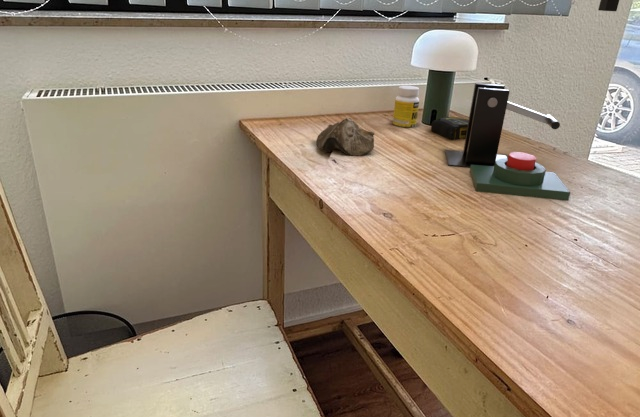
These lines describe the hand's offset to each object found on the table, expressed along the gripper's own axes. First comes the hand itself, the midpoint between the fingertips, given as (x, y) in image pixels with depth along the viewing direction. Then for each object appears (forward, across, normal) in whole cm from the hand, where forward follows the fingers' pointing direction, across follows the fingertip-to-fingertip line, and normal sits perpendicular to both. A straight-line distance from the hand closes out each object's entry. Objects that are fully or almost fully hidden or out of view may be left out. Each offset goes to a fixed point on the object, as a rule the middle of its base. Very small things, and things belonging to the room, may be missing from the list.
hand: (607, 10), depth 69 cm
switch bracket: (+24, +14, +2) cm, 28 cm away
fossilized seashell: (+24, +36, +1) cm, 43 cm away
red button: (+21, +10, +12) cm, 26 cm away
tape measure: (+24, +17, -13) cm, 33 cm away
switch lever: (+16, +10, +2) cm, 19 cm away
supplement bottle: (+24, +26, -18) cm, 40 cm away
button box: (+24, +10, +12) cm, 29 cm away
